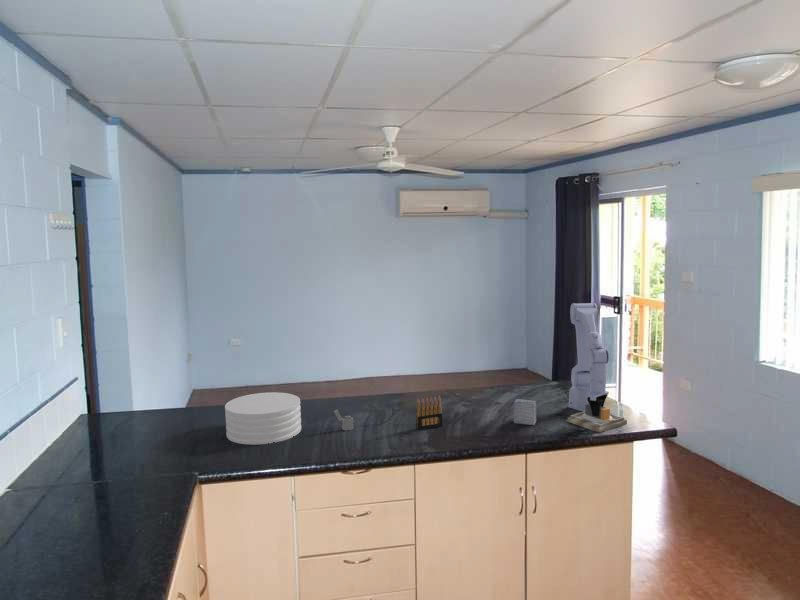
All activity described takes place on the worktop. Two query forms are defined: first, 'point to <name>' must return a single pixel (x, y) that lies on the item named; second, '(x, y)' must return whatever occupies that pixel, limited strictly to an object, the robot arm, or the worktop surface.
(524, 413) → the medicine box
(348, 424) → the lighter
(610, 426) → the square tray
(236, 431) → the plate stack
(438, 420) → the ammunition clip
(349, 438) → the worktop surface
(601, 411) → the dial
